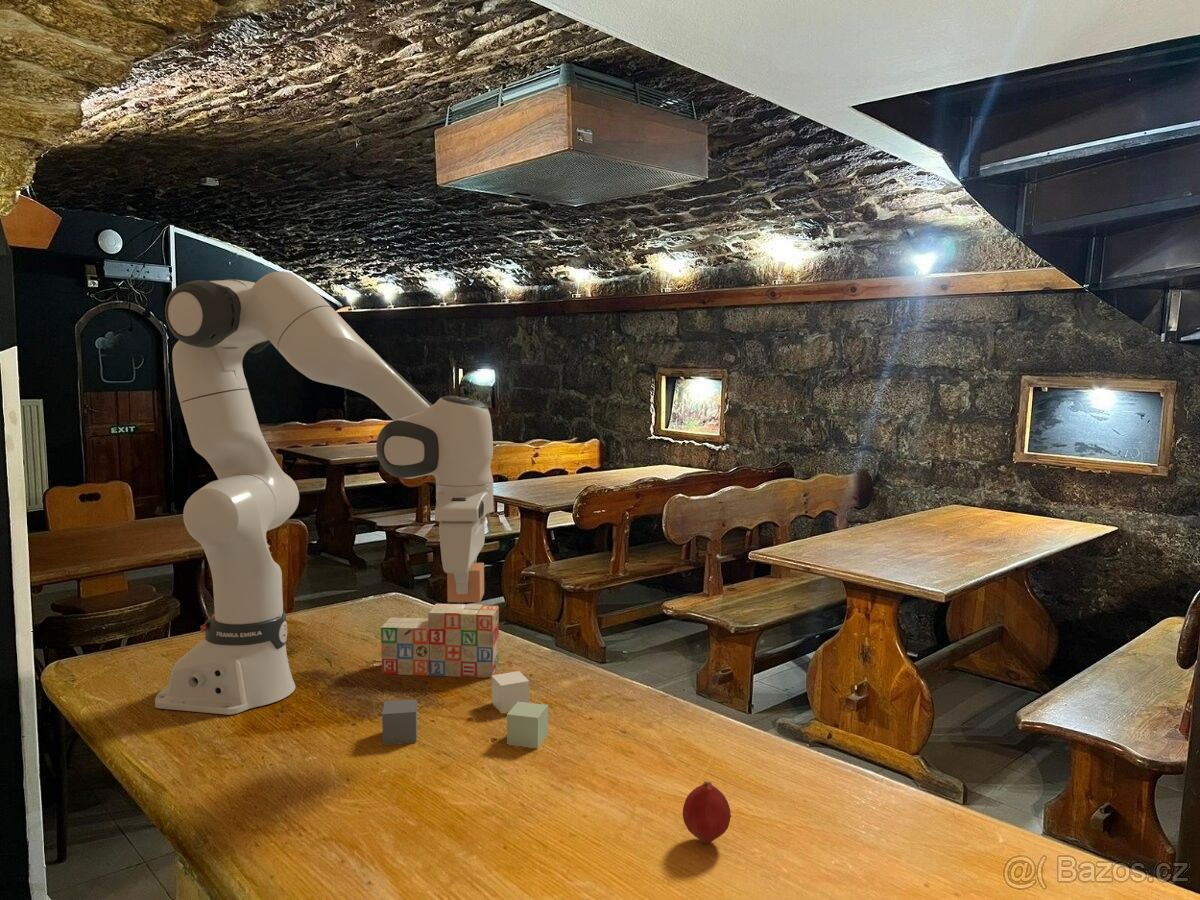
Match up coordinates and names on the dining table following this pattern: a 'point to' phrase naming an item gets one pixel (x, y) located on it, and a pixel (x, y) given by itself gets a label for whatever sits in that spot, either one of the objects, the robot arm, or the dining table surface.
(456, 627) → the stack of blocks
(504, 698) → the off-white cube
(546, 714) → the sage green cube
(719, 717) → the dining table surface
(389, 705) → the charcoal cube
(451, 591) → the terracotta cube
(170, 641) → the dining table surface
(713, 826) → the onion
